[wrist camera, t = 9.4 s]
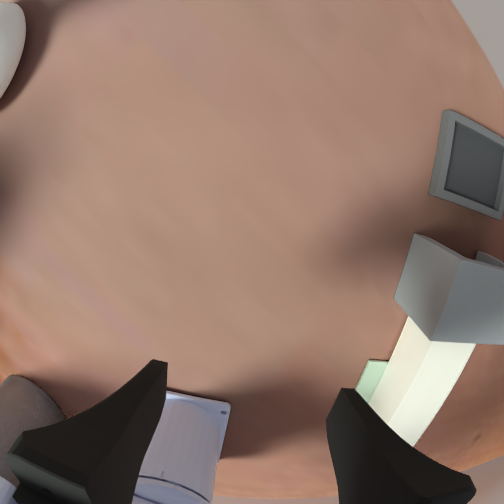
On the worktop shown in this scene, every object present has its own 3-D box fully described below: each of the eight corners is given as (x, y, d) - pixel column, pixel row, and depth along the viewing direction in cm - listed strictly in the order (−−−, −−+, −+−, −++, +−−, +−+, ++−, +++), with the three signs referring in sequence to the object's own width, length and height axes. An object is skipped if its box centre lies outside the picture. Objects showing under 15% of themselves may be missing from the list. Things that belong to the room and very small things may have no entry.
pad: (404, 428, 26) (404, 429, 25) (334, 429, 25) (334, 431, 25) (442, 363, 23) (443, 364, 23) (368, 359, 23) (369, 361, 23)
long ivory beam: (396, 422, 25) (409, 451, 21) (356, 423, 25) (366, 455, 21) (451, 317, 21) (476, 341, 18) (410, 312, 21) (433, 339, 17)
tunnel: (467, 309, 22) (506, 344, 16) (393, 298, 21) (429, 340, 15) (487, 253, 20) (534, 279, 14) (414, 233, 20) (461, 259, 14)
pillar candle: (79, 443, 28) (33, 536, 13) (22, 424, 28) (-28, 498, 13) (51, 383, 25) (-22, 484, 10) (-7, 365, 25) (-77, 440, 10)
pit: (493, 218, 19) (501, 220, 18) (428, 194, 19) (435, 195, 18) (507, 145, 17) (514, 145, 17) (442, 111, 17) (449, 109, 16)
